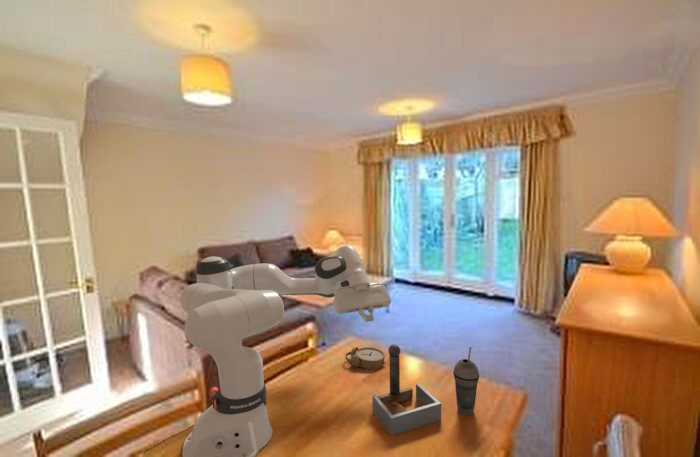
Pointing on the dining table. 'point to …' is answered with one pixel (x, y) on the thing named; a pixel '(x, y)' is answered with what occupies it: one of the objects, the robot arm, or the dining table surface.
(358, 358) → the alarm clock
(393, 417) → the box
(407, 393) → the ball-topped joystick
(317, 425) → the dining table surface
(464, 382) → the beverage cup
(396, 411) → the shard
